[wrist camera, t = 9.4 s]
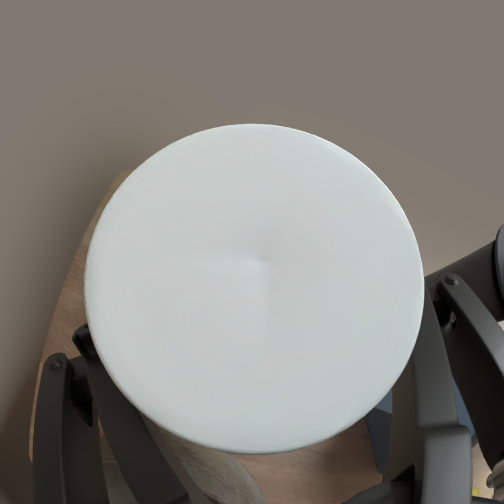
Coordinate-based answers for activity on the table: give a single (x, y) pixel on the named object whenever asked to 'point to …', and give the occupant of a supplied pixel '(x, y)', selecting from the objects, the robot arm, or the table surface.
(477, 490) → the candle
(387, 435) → the blue storage bin
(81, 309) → the table surface
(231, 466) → the bowl
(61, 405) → the robot arm
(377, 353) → the supplement tub
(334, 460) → the table surface
